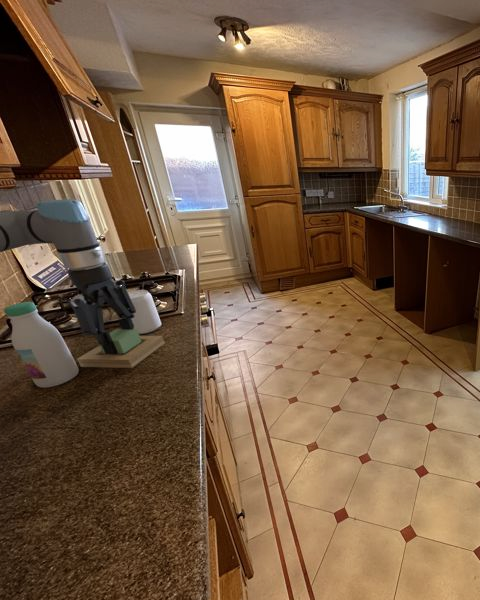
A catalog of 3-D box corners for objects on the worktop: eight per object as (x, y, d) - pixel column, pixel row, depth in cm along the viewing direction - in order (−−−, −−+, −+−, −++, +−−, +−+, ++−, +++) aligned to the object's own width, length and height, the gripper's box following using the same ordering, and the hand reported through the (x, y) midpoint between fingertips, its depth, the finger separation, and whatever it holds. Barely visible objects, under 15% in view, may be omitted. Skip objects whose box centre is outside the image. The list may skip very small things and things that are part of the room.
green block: (102, 353, 85) (96, 340, 84) (121, 341, 91) (116, 329, 89) (124, 353, 85) (118, 340, 83) (141, 341, 91) (136, 329, 89)
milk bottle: (79, 365, 84) (43, 295, 76) (80, 378, 79) (42, 305, 71) (37, 378, 80) (-6, 305, 71) (36, 393, 74) (-11, 316, 66)
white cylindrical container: (150, 335, 98) (136, 299, 93) (124, 335, 98) (109, 300, 93) (167, 323, 105) (156, 289, 101) (143, 323, 106) (130, 289, 101)
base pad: (80, 366, 84) (76, 358, 83) (119, 342, 95) (116, 335, 94) (132, 368, 83) (128, 360, 82) (165, 343, 94) (162, 335, 93)
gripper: (62, 279, 70) (104, 367, 79) (133, 254, 87) (160, 329, 96) (30, 279, 70) (76, 367, 79) (106, 254, 87) (136, 329, 97)
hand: (122, 346), depth 88 cm, fingers closed on green block, 6 cm apart
